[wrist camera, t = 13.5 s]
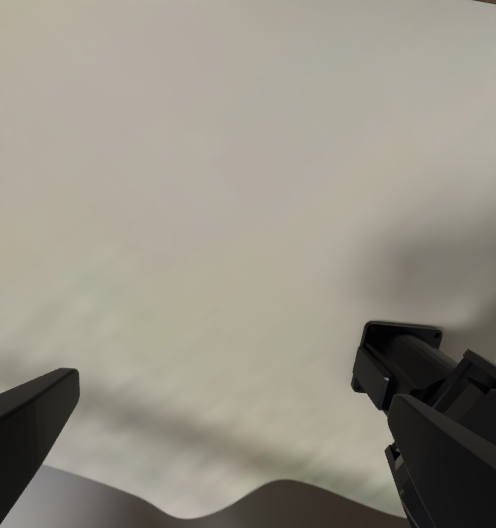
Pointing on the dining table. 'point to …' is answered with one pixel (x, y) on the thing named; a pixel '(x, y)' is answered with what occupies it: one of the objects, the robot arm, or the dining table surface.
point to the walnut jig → (490, 0)
